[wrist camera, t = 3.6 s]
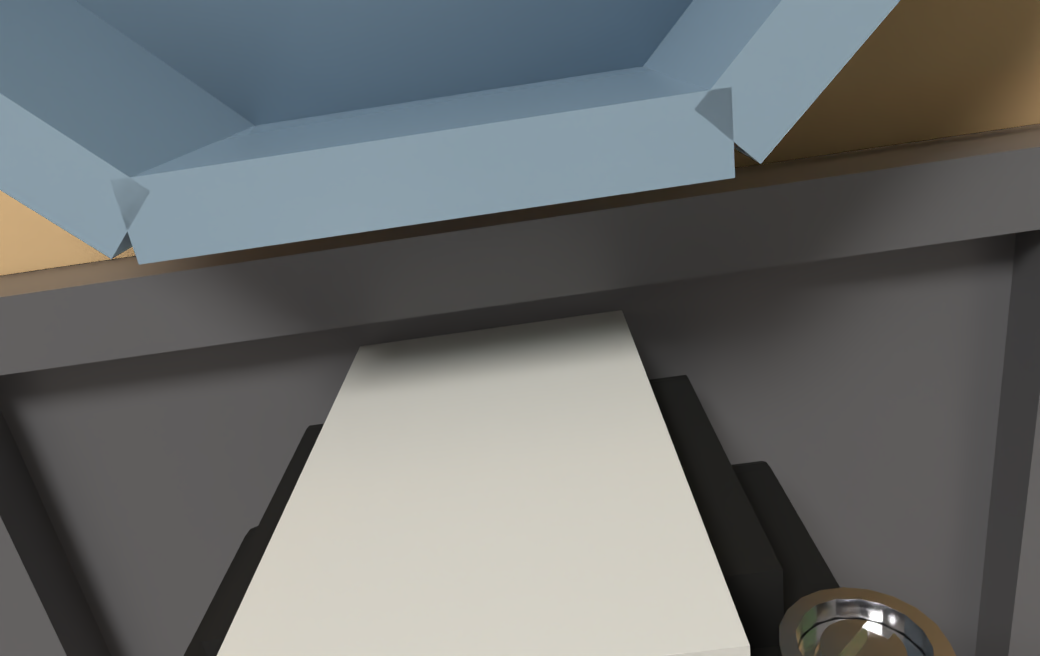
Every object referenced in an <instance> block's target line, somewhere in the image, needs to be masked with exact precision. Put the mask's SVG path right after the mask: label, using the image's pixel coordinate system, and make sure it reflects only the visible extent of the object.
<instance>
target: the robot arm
mask: <svg viewBox="0 0 1040 656" xmlns="http://www.w3.org/2000/svg"><path fill="white" fill-rule="evenodd" d="M649 383H650V385H651V388H652V390H653V393H654V396H655V398H656V401H657V404H658V406H659V409H660V411H661V414H662V417H663V419H664V422H665V424H666V427H667V430H668V432H669V435H670V438H671V440H672V443H673V445H674V448H675V451H676V453H677V456H678V459H679V461H680V464H681V466H682V469H683V472H684V474H685V477H686V480H687V482H688V485H689V487H690V490H691V493H692V495H693V498H694V500H695V503H696V506H697V508H698V511H699V514H700V516H701V519H702V521H703V524H704V527H705V529H706V532H707V535H708V537H709V540H710V542H711V545H712V548H713V550H714V553H715V555H716V558H717V561H718V563H719V566H720V569H721V571H722V574H723V576H724V579H725V582H726V584H727V587H728V590H729V592H730V595H731V597H732V600H733V603H734V605H735V608H736V611H737V613H738V616H739V618H740V621H741V624H742V626H743V629H744V631H745V634H746V637H747V639H748V642H749V645H750V656H956V654H955V652H954V650H953V648H952V646H951V644H950V642H949V641H948V639H947V638H946V637H945V635H944V634H943V632H942V631H941V630H940V628H939V627H938V625H937V624H936V623H935V622H933V621H932V620H931V619H930V618H928V617H927V616H926V615H925V614H924V613H922V612H921V611H920V610H919V609H917V608H916V607H914V606H912V605H910V604H908V603H906V602H904V601H902V600H900V599H898V598H896V597H894V596H890V595H887V594H883V593H880V592H876V591H872V590H869V589H858V588H846V587H842V588H840V586H839V585H838V583H837V581H836V579H835V578H834V576H833V574H832V573H831V571H830V569H829V567H828V566H827V564H826V562H825V560H824V559H823V557H822V555H821V554H820V552H819V550H818V548H817V547H816V545H815V543H814V541H813V540H812V538H811V536H810V535H809V533H808V531H807V529H806V528H805V526H804V524H803V522H802V521H801V519H800V517H799V516H798V514H797V512H796V510H795V509H794V507H793V505H792V503H791V502H790V500H789V498H788V497H787V495H786V493H785V491H784V490H783V488H782V486H781V484H780V483H779V481H778V479H777V477H776V476H775V474H774V472H773V471H772V469H771V467H770V466H769V465H768V464H767V462H765V461H756V462H749V463H741V464H733V465H731V463H730V461H729V459H728V457H727V455H726V453H725V451H724V449H723V447H722V445H721V443H720V441H719V439H718V437H717V435H716V433H715V431H714V429H713V427H712V425H711V423H710V421H709V419H708V417H707V415H706V413H705V411H704V409H703V407H702V405H701V403H700V401H699V399H698V396H697V394H696V392H695V390H694V388H693V386H692V384H691V382H690V380H689V378H688V377H687V375H680V376H673V377H665V378H658V379H650V380H649ZM323 425H324V424H317V425H310V426H308V428H307V429H306V431H305V433H304V435H303V437H302V439H301V441H300V443H299V445H298V447H297V449H296V451H295V453H294V455H293V457H292V459H291V461H290V463H289V465H288V467H287V469H286V471H285V473H284V475H283V477H282V479H281V481H280V483H279V485H278V487H277V489H276V491H275V493H274V495H273V497H272V499H271V501H270V503H269V505H268V507H267V509H266V511H265V513H264V515H263V517H262V519H261V521H260V523H259V525H258V526H256V527H254V528H251V529H250V530H249V531H248V533H247V534H246V536H245V537H244V539H243V541H242V543H241V545H240V547H239V549H238V551H237V553H236V555H235V557H234V559H233V560H232V562H231V564H230V566H229V568H228V570H227V572H226V574H225V576H224V578H223V580H222V582H221V584H220V586H219V588H218V590H217V592H216V594H215V596H214V597H213V599H212V601H211V603H210V605H209V607H208V609H207V611H206V613H205V615H204V617H203V619H202V621H201V623H200V625H199V627H198V629H197V631H196V632H195V634H194V636H193V638H192V640H191V642H190V644H189V646H188V648H187V650H186V652H185V654H184V656H217V654H218V652H219V650H220V648H221V645H222V643H223V641H224V639H225V637H226V635H227V632H228V630H229V628H230V626H231V624H232V622H233V620H234V617H235V615H236V613H237V611H238V609H239V607H240V604H241V602H242V600H243V598H244V596H245V594H246V591H247V589H248V587H249V585H250V583H251V581H252V579H253V576H254V574H255V572H256V570H257V568H258V566H259V563H260V561H261V559H262V557H263V555H264V553H265V550H266V548H267V546H268V544H269V542H270V540H271V538H272V535H273V533H274V531H275V529H276V527H277V525H278V522H279V520H280V518H281V516H282V514H283V512H284V509H285V507H286V505H287V503H288V501H289V499H290V497H291V494H292V492H293V490H294V488H295V486H296V484H297V481H298V479H299V477H300V475H301V473H302V471H303V468H304V466H305V464H306V462H307V460H308V458H309V455H310V453H311V451H312V449H313V447H314V445H315V443H316V440H317V438H318V436H319V434H320V432H321V430H322V427H323Z"/></svg>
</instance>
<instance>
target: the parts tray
mask: <svg viewBox="0 0 1040 656" xmlns="http://www.w3.org/2000/svg"><path fill="white" fill-rule="evenodd" d="M619 310H622V312H623V314H624V317H625V320H626V322H627V325H628V328H629V330H630V333H631V335H632V338H633V341H634V343H635V346H636V348H637V351H638V354H639V356H640V359H641V362H642V364H643V367H644V369H645V372H646V375H647V377H648V380H650V379H658V378H665V377H673V376H680V375H687V377H688V378H689V380H690V382H691V384H692V386H693V388H694V390H695V392H696V394H697V396H698V399H699V401H700V403H701V405H702V407H703V409H704V411H705V413H706V415H707V417H708V419H709V421H710V423H711V425H712V427H713V429H714V431H715V433H716V435H717V437H718V439H719V441H720V443H721V445H722V447H723V449H724V451H725V453H726V455H727V457H728V459H729V461H730V463H731V465H733V464H741V463H749V462H756V461H765V462H767V464H768V465H769V466H770V467H771V469H772V471H773V472H774V474H775V476H776V477H777V479H778V481H779V483H780V484H781V486H782V488H783V490H784V491H785V493H786V495H787V497H788V498H789V500H790V502H791V503H792V505H793V507H794V509H795V510H796V512H797V514H798V516H799V517H800V519H801V521H802V522H803V524H804V526H805V528H806V529H807V531H808V533H809V535H810V536H811V538H812V540H813V541H814V543H815V545H816V547H817V548H818V550H819V552H820V554H821V555H822V557H823V559H824V560H825V562H826V564H827V566H828V567H829V569H830V571H831V573H832V574H833V576H834V578H835V579H836V581H837V583H838V585H839V586H840V588H842V587H846V588H858V589H869V590H872V591H876V592H880V593H883V594H887V595H890V596H894V597H896V598H898V599H900V600H902V601H904V602H906V603H908V604H910V605H912V606H914V607H916V608H917V609H919V610H920V611H921V612H922V613H924V614H925V615H926V616H927V617H928V618H930V619H931V620H932V621H933V622H935V623H936V624H937V625H938V627H939V628H940V630H941V631H942V632H943V634H944V635H945V637H946V638H947V639H948V641H949V642H950V644H951V646H952V648H953V650H954V652H955V654H956V656H1040V124H1034V125H1028V126H1021V127H1014V128H1007V129H1000V130H993V131H986V132H980V133H973V134H966V135H959V136H952V137H945V138H939V139H932V140H925V141H918V142H911V143H904V144H898V145H891V146H884V147H877V148H870V149H863V150H857V151H850V152H843V153H836V154H829V155H822V156H816V157H809V158H802V159H795V160H788V161H781V162H775V163H768V164H761V165H754V166H747V167H740V168H735V178H731V179H724V180H717V181H710V182H703V183H696V184H689V185H683V186H676V187H669V188H662V189H655V190H648V191H641V192H635V193H628V194H621V195H614V196H607V197H600V198H593V199H587V200H580V201H573V202H566V203H559V204H552V205H545V206H538V207H532V208H525V209H518V210H511V211H504V212H497V213H490V214H484V215H477V216H470V217H463V218H456V219H449V220H442V221H436V222H429V223H422V224H415V225H408V226H401V227H394V228H388V229H381V230H374V231H367V232H360V233H353V234H346V235H339V236H333V237H326V238H319V239H312V240H305V241H298V242H291V243H285V244H278V245H271V246H264V247H257V248H250V249H243V250H237V251H230V252H223V253H216V254H209V255H202V256H195V257H188V258H182V259H175V260H168V261H161V262H154V263H147V264H140V265H139V264H138V261H137V258H136V256H132V257H125V258H118V259H111V260H104V261H98V262H91V263H84V264H77V265H70V266H63V267H57V268H50V269H43V270H36V271H29V272H22V273H16V274H9V275H2V276H0V656H184V654H185V652H186V650H187V648H188V646H189V644H190V642H191V640H192V638H193V636H194V634H195V632H196V631H197V629H198V627H199V625H200V623H201V621H202V619H203V617H204V615H205V613H206V611H207V609H208V607H209V605H210V603H211V601H212V599H213V597H214V596H215V594H216V592H217V590H218V588H219V586H220V584H221V582H222V580H223V578H224V576H225V574H226V572H227V570H228V568H229V566H230V564H231V562H232V560H233V559H234V557H235V555H236V553H237V551H238V549H239V547H240V545H241V543H242V541H243V539H244V537H245V536H246V534H247V533H248V531H249V530H250V529H251V528H254V527H256V526H258V525H259V523H260V521H261V519H262V517H263V515H264V513H265V511H266V509H267V507H268V505H269V503H270V501H271V499H272V497H273V495H274V493H275V491H276V489H277V487H278V485H279V483H280V481H281V479H282V477H283V475H284V473H285V471H286V469H287V467H288V465H289V463H290V461H291V459H292V457H293V455H294V453H295V451H296V449H297V447H298V445H299V443H300V441H301V439H302V437H303V435H304V433H305V431H306V429H307V428H308V426H310V425H317V424H324V423H325V421H326V419H327V417H328V414H329V412H330V410H331V408H332V406H333V404H334V402H335V399H336V397H337V395H338V393H339V391H340V389H341V386H342V384H343V382H344V380H345V378H346V376H347V373H348V371H349V369H350V367H351V365H352V363H353V361H354V358H355V356H356V354H357V352H358V350H359V348H360V346H367V345H374V344H381V343H388V342H396V341H403V340H410V339H417V338H424V337H432V336H439V335H446V334H453V333H460V332H468V331H475V330H482V329H489V328H496V327H504V326H511V325H518V324H525V323H532V322H540V321H547V320H554V319H561V318H568V317H575V316H583V315H590V314H597V313H604V312H611V311H619Z"/></svg>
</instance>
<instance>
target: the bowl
mask: <svg viewBox="0 0 1040 656" xmlns="http://www.w3.org/2000/svg"><path fill="white" fill-rule="evenodd" d="M899 1H900V0H0V190H1V191H3V192H4V193H6V194H7V195H9V196H11V197H12V198H14V199H16V200H17V201H19V202H20V203H22V204H24V205H25V206H27V207H28V208H30V209H32V210H33V211H35V212H36V213H38V214H40V215H41V216H43V217H45V218H46V219H48V220H49V221H51V222H53V223H54V224H56V225H57V226H59V227H61V228H62V229H64V230H66V231H67V232H69V233H70V234H72V235H74V236H75V237H77V238H78V239H80V240H82V241H83V242H85V243H87V244H88V245H90V246H91V247H93V248H95V249H96V250H98V251H99V252H101V253H103V254H104V255H106V256H107V257H109V258H111V259H112V258H114V257H116V256H117V255H119V254H121V253H122V252H124V251H126V250H127V249H129V248H131V247H132V246H133V249H134V252H135V255H136V258H137V261H138V264H139V265H140V264H147V263H154V262H161V261H168V260H175V259H182V258H188V257H195V256H202V255H209V254H216V253H223V252H230V251H237V250H243V249H250V248H257V247H264V246H271V245H278V244H285V243H291V242H298V241H305V240H312V239H319V238H326V237H333V236H339V235H346V234H353V233H360V232H367V231H374V230H381V229H388V228H394V227H401V226H408V225H415V224H422V223H429V222H436V221H442V220H449V219H456V218H463V217H470V216H477V215H484V214H490V213H497V212H504V211H511V210H518V209H525V208H532V207H538V206H545V205H552V204H559V203H566V202H573V201H580V200H587V199H593V198H600V197H607V196H614V195H621V194H628V193H635V192H641V191H648V190H655V189H662V188H669V187H676V186H683V185H689V184H696V183H703V182H710V181H717V180H724V179H731V178H735V162H734V149H736V150H737V151H739V152H741V153H743V154H744V155H746V156H748V157H749V158H751V159H753V160H755V161H756V162H758V163H760V164H761V163H762V162H763V161H764V160H765V158H766V157H767V156H768V155H769V154H770V153H771V151H772V150H773V149H774V148H775V147H776V146H777V144H778V143H779V142H780V141H781V140H782V138H783V137H784V136H785V135H786V134H787V133H788V131H789V130H790V129H791V128H792V127H793V126H794V124H795V123H796V122H797V121H798V120H799V119H800V117H801V116H802V115H803V114H804V113H805V111H806V110H807V109H808V108H809V107H810V106H811V104H812V103H813V102H814V101H815V100H816V99H817V97H818V96H819V95H820V94H821V93H822V92H823V90H824V89H825V88H826V87H827V86H828V85H829V83H830V82H831V81H832V80H833V79H834V77H835V76H836V75H837V74H838V73H839V72H840V70H841V69H842V68H843V67H844V66H845V65H846V63H847V62H848V61H849V60H850V59H851V58H852V56H853V55H854V54H855V53H856V52H857V51H858V49H859V48H860V47H861V46H862V45H863V43H864V42H865V41H866V40H867V39H868V38H869V36H870V35H871V34H872V33H873V32H874V31H875V29H876V28H877V27H878V26H879V25H880V24H881V22H882V21H883V20H884V19H885V18H886V16H887V15H888V14H889V13H890V12H891V11H892V9H893V8H894V7H895V6H896V5H897V4H898V2H899Z"/></svg>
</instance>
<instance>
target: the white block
mask: <svg viewBox="0 0 1040 656" xmlns="http://www.w3.org/2000/svg"><path fill="white" fill-rule="evenodd" d="M217 656H750V645H749V642H748V639H747V637H746V634H745V631H744V629H743V626H742V624H741V621H740V618H739V616H738V613H737V611H736V608H735V605H734V603H733V600H732V597H731V595H730V592H729V590H728V587H727V584H726V582H725V579H724V576H723V574H722V571H721V569H720V566H719V563H718V561H717V558H716V555H715V553H714V550H713V548H712V545H711V542H710V540H709V537H708V535H707V532H706V529H705V527H704V524H703V521H702V519H701V516H700V514H699V511H698V508H697V506H696V503H695V500H694V498H693V495H692V493H691V490H690V487H689V485H688V482H687V480H686V477H685V474H684V472H683V469H682V466H681V464H680V461H679V459H678V456H677V453H676V451H675V448H674V445H673V443H672V440H671V438H670V435H669V432H668V430H667V427H666V424H665V422H664V419H663V417H662V414H661V411H660V409H659V406H658V404H657V401H656V398H655V396H654V393H653V390H652V388H651V385H650V383H649V380H648V377H647V375H646V372H645V369H644V367H643V364H642V362H641V359H640V356H639V354H638V351H637V348H636V346H635V343H634V341H633V338H632V335H631V333H630V330H629V328H628V325H627V322H626V320H625V317H624V314H623V312H622V310H619V311H611V312H604V313H597V314H590V315H583V316H575V317H568V318H561V319H554V320H547V321H540V322H532V323H525V324H518V325H511V326H504V327H496V328H489V329H482V330H475V331H468V332H460V333H453V334H446V335H439V336H432V337H424V338H417V339H410V340H403V341H396V342H388V343H381V344H374V345H367V346H360V348H359V350H358V352H357V354H356V356H355V358H354V361H353V363H352V365H351V367H350V369H349V371H348V373H347V376H346V378H345V380H344V382H343V384H342V386H341V389H340V391H339V393H338V395H337V397H336V399H335V402H334V404H333V406H332V408H331V410H330V412H329V414H328V417H327V419H326V421H325V423H324V425H323V427H322V430H321V432H320V434H319V436H318V438H317V440H316V443H315V445H314V447H313V449H312V451H311V453H310V455H309V458H308V460H307V462H306V464H305V466H304V468H303V471H302V473H301V475H300V477H299V479H298V481H297V484H296V486H295V488H294V490H293V492H292V494H291V497H290V499H289V501H288V503H287V505H286V507H285V509H284V512H283V514H282V516H281V518H280V520H279V522H278V525H277V527H276V529H275V531H274V533H273V535H272V538H271V540H270V542H269V544H268V546H267V548H266V550H265V553H264V555H263V557H262V559H261V561H260V563H259V566H258V568H257V570H256V572H255V574H254V576H253V579H252V581H251V583H250V585H249V587H248V589H247V591H246V594H245V596H244V598H243V600H242V602H241V604H240V607H239V609H238V611H237V613H236V615H235V617H234V620H233V622H232V624H231V626H230V628H229V630H228V632H227V635H226V637H225V639H224V641H223V643H222V645H221V648H220V650H219V652H218V654H217Z"/></svg>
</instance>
